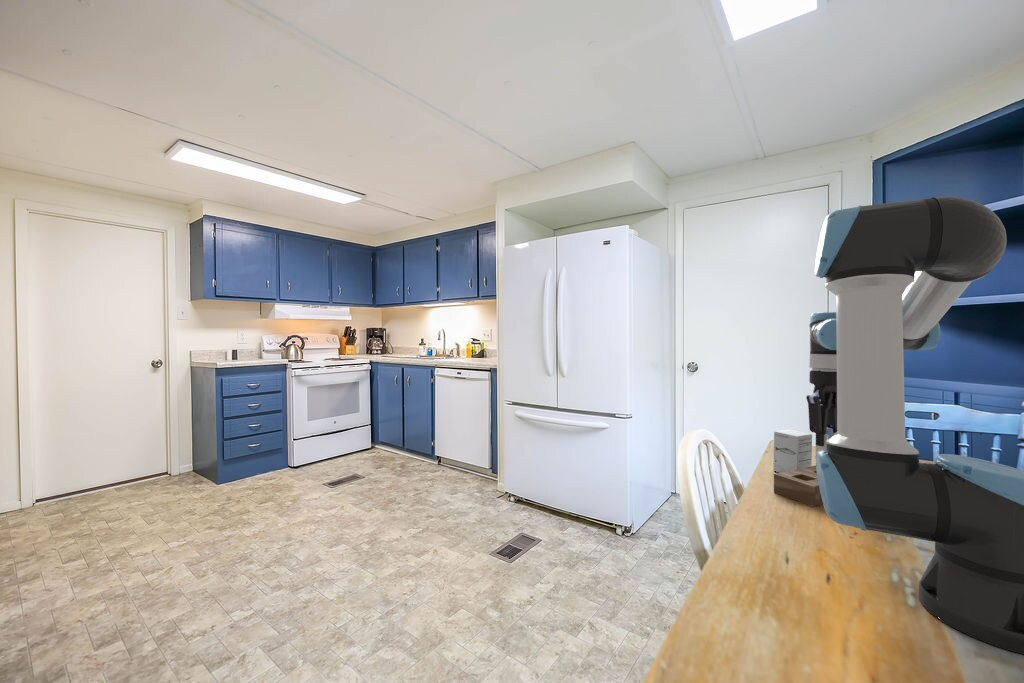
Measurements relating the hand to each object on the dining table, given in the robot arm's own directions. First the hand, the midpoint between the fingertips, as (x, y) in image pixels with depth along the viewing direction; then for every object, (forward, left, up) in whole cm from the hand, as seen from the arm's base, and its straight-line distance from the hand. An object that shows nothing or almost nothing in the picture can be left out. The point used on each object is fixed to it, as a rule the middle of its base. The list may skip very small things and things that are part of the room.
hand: (825, 456), depth 112 cm
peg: (0, 0, -4) cm, 4 cm away
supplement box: (+6, +13, -10) cm, 17 cm away
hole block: (-5, 0, -9) cm, 10 cm away
